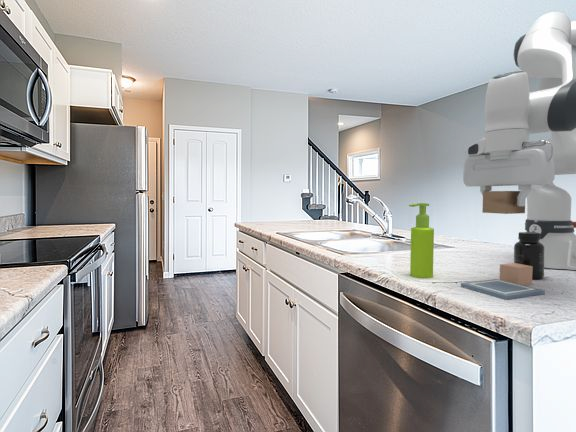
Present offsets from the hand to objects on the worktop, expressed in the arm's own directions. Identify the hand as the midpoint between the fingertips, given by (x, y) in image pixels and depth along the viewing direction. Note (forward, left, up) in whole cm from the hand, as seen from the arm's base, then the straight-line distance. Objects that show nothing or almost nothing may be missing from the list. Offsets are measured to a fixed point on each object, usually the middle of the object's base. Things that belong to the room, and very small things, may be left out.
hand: (503, 205), depth 83 cm
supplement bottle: (-19, -7, -20) cm, 28 cm away
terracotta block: (-10, -4, -20) cm, 23 cm away
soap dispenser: (+7, -19, -20) cm, 28 cm away
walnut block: (0, 0, -2) cm, 2 cm away
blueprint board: (0, 0, -20) cm, 20 cm away
